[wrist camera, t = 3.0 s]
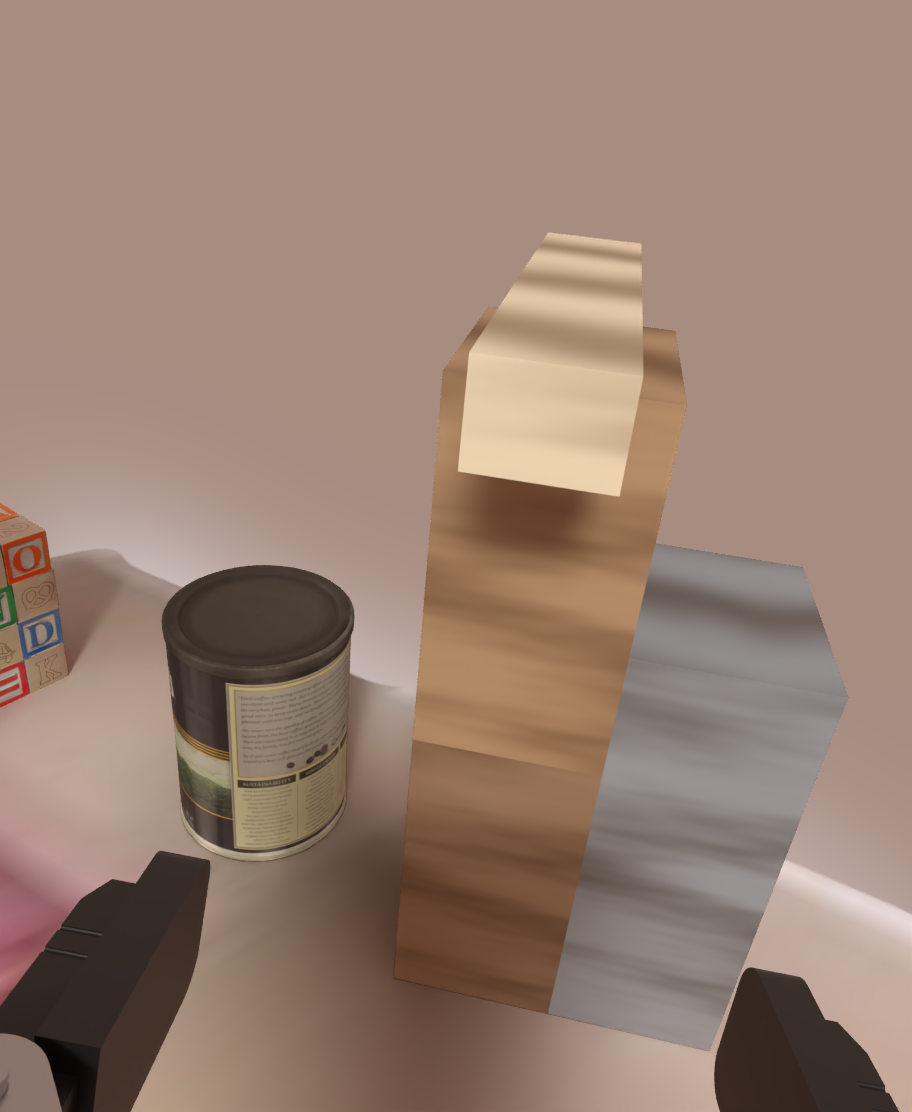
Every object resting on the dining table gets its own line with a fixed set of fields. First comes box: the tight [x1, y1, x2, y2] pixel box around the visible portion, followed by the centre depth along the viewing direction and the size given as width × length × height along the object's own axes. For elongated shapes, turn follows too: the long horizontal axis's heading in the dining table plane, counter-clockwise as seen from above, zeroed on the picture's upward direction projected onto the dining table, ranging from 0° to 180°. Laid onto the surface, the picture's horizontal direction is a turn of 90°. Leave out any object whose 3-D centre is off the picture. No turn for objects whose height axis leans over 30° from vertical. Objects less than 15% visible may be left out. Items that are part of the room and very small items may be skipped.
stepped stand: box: [393, 306, 848, 1051], centre depth 40 cm, size 10×16×32 cm, turn 79°
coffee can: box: [162, 565, 354, 861], centre depth 50 cm, size 10×10×14 cm
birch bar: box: [458, 233, 643, 497], centre depth 29 cm, size 20×4×3 cm, turn 169°
